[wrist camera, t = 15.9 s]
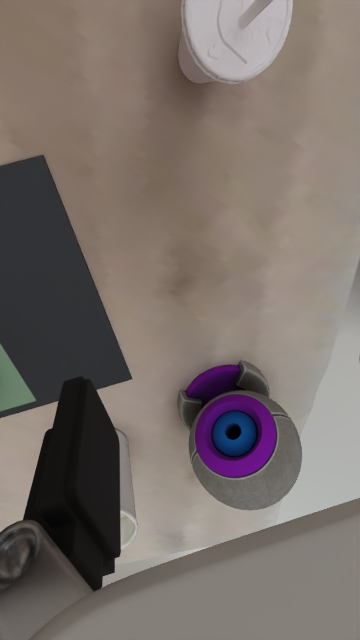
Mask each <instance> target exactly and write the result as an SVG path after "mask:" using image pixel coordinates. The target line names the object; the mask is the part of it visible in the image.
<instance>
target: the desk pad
mask: <svg viewBox="0 0 360 640" xmlns="http://www.w3.org/2000/svg"><path fill="white" fill-rule="evenodd" d="M80 376H83V377H84V378H85V380H86V379H90V380H91V381H92V383H93V385H94V387H95V389H96V390H97V389H100V388H104V387H107V386H110V385H114V384H117V383H121V382H124V381H127V380H131V379H132V377H131V375H130V372H129V370H128V367H127V365H126V362H125V360H124V357H123V355H122V352H121V350H120V347H119V345H118V342H117V340H116V337H115V335H114V332H113V330H112V327H111V325H110V322H109V320H108V317H107V315H106V312H105V309H104V307H103V304H102V302H101V299H100V297H99V294H98V292H97V289H96V287H95V284H94V282H93V279H92V277H91V274H90V272H89V269H88V267H87V264H86V262H85V259H84V257H83V254H82V252H81V249H80V247H79V244H78V242H77V239H76V237H75V234H74V231H73V229H72V226H71V224H70V221H69V219H68V216H67V214H66V211H65V209H64V206H63V204H62V201H61V199H60V196H59V194H58V191H57V189H56V186H55V184H54V181H53V179H52V176H51V174H50V171H49V169H48V166H47V164H46V161H45V158H44V156H43V155H42V156H38V157H34V158H30V159H26V160H22V161H18V162H15V163H11V164H7V165H3V166H0V418H2V417H5V416H9V415H12V414H16V413H19V412H22V411H26V410H29V409H33V408H36V407H39V406H43V405H46V404H49V403H53V402H56V401H59V398H60V394H61V389H62V385H63V382H64V381H66V380H70V379H73V378H77V377H80Z"/></svg>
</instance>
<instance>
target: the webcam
mask: <svg viewBox="0 0 360 640" xmlns="http://www.w3.org/2000/svg"><path fill="white" fill-rule="evenodd" d="M178 410H179V414H180V417H181V419H182V421H183V423H184V424H185V426H186V427H187V428H188V429H189V430H190V431H191V432H190V437H189V453H190V459H191V464H192V467H193V470H194V472H195V474H196V476H197V478H198V479H199V481H200V483H201V484H202V485H203V487H204V488H205V489H206V490H207V491H208V492H209V494H211V495H212V496H213V497H214V498H216V499H217V500H218V501H220V502H222V503H224V504H225V505H228V506H231V507H233V508H237V509H241V510H258V509H263V508H266V507H268V506H271V505H273V504H275V503H277V502H278V501H280V500H281V499H282V498H283V497H284V496H285V495H286V494H287V493H288V492H289V491H290V490H291V488H292V487H293V485H294V484H295V482H296V480H297V477H298V475H299V472H300V468H301V461H302V447H301V442H300V438H299V435H298V432H297V429H296V427H295V425H294V423H293V422H292V420H291V418H290V417H289V416H288V414H287V413H286V412H285V411H284V410H283V408H282V407H281V406H280V405H278V404H277V403H276V402H275V401H273V400H272V399H270V398H269V387H268V384H267V382H266V380H265V378H264V376H263V375H262V373H261V372H260V371H259V370H258V369H257V368H256V367H254V366H253V365H251V364H249V363H246V362H243V361H241V362H240V364H239V366H237V365H225V366H219V367H215V368H213V369H210V370H208V371H206V372H204V373H202V374H201V375H199V376H198V377H197V378H196V379H195V380H194V381H193V382H192V383H191V384H190V385H189V387H188V389H187V390H186V393H185V392H183V391H180V393H179V397H178Z"/></svg>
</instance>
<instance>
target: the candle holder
mask: <svg viewBox="0 0 360 640" xmlns="http://www.w3.org/2000/svg"><path fill="white" fill-rule="evenodd" d="M115 430H116V432H117V434H118V437H119V443H120V526H121V550H122V549H123V548H125V547H126V546H127V545H129V544H130V543H131V542H132V541H133V539H134V538H135V536H136V534H137V530H138V523H137V519H136V511H135V502H134V493H133V484H132V474H131V465H130V456H129V448H128V442H127V439H126V437H125V436H124V435H123V434H122V433H121V432H120V431H118V430H117V429H115Z"/></svg>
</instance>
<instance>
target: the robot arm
mask: <svg viewBox="0 0 360 640" xmlns="http://www.w3.org/2000/svg"><path fill="white" fill-rule="evenodd" d="M120 552H121V526H120V443H119V437H118V434H117V432H116V430H115V428H114V426H113V424H112V422H111V420H110V418H109V416H108V414H107V411H106V409H105V407H104V405H103V403H102V401H101V399H100V397H99V395H98V393H97V391H96V389H95V387H94V385H93V383H92V381H91V380H90V379H86V380H85V378H84V377H83V376H80V377H77V378H73V379H70V380H66V381H64V382H63V385H62V389H61V394H60V398H59V402H58V407H57V411H56V415H55V419H54V424H53V428H52V429H49V430H47V432H46V433H45V436H44V439H43V443H42V447H41V451H40V455H39V459H38V463H37V467H36V471H35V474H34V478H33V482H32V486H31V490H30V494H29V498H28V502H27V506H26V510H25V514H24V518H23V520H22V521H18V522H16V523H14V524H12V525H10V526H8V527H7V528H5V529H4V530H3V531H2V532H0V640H360V498H358V499H355V500H352V501H349V502H346V503H343V504H340V505H337V506H333V507H330V508H327V509H324V510H321V511H318V512H315V513H312V514H309V515H306V516H303V517H300V518H297V519H294V520H291V521H288V522H285V523H282V524H279V525H275V526H272V527H269V528H266V529H263V530H260V531H257V532H254V533H251V534H248V535H245V536H242V537H239V538H236V539H233V540H230V541H227V542H224V543H221V544H218V545H215V546H212V547H209V548H206V549H203V550H200V551H197V552H194V553H192V554H189V555H186V556H183V557H180V558H178V559H174V560H172V561H169V562H166V563H163V564H160V565H158V566H154V567H152V568H149V569H146V570H143V571H141V572H138V573H136V574H133V575H131V576H128V577H126V578H124V579H121V580H119V581H116V582H114V583H111V584H109V585H107V586H105V587H103V588H101V587H102V578H103V576H105V575H108V574H111V573H114V572H115V558H117V557H119V556H120Z"/></svg>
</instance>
